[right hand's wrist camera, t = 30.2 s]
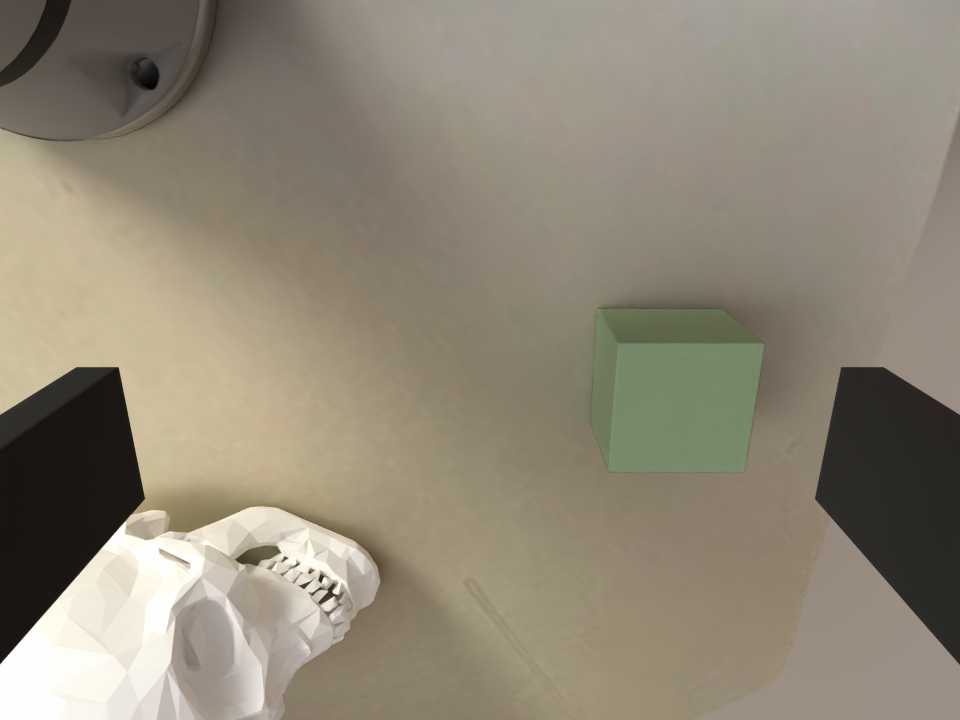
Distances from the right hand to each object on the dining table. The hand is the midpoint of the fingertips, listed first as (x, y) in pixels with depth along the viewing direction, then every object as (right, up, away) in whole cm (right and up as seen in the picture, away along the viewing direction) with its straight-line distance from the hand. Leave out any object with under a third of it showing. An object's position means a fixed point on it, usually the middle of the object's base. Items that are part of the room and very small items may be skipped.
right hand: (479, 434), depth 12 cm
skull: (-17, -12, +31) cm, 37 cm away
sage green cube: (+10, +1, +26) cm, 28 cm away
